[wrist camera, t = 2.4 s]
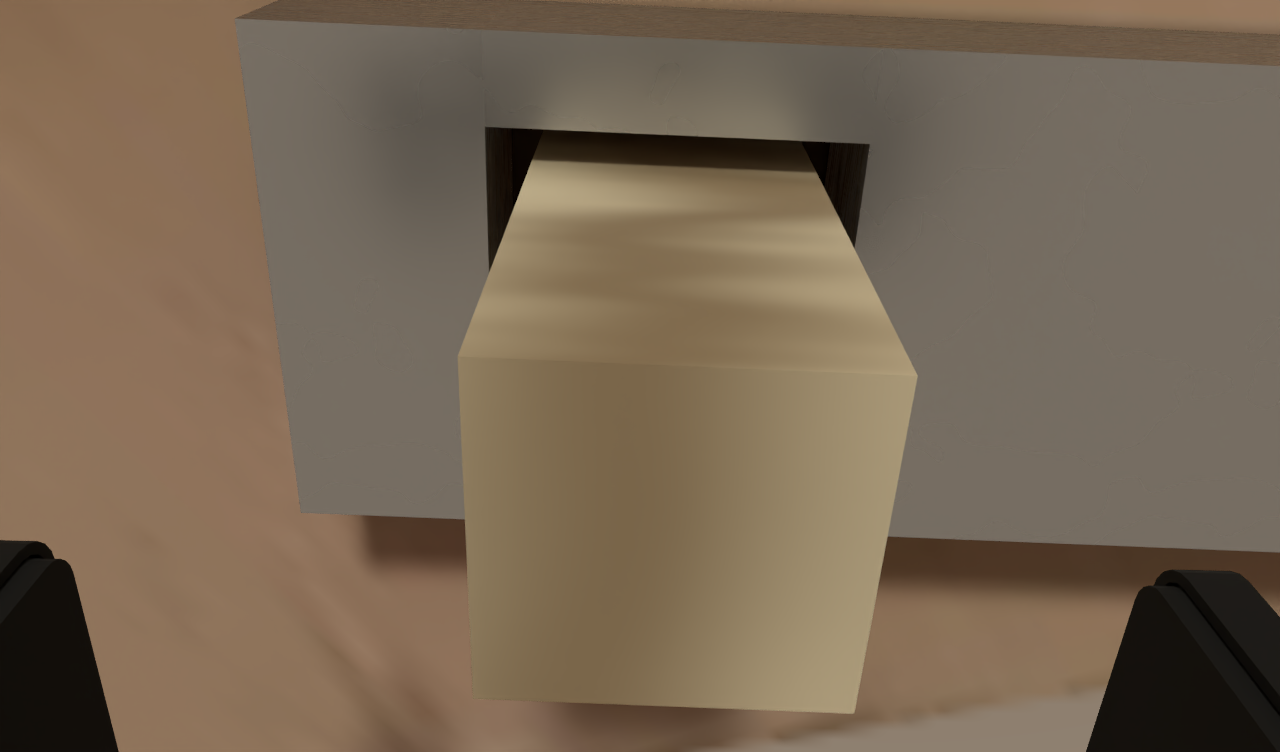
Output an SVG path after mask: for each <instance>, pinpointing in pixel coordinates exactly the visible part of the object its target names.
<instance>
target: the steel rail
mask: <svg viewBox="0 0 1280 752" xmlns="http://www.w3.org/2000/svg"><path fill="white" fill-rule="evenodd" d="M235 24H236V31H237V39H238V46H239V54H240V61H241V69H242V76H243V84H244V91H245V98H246V106H247V113H248V121H249V128H250V136H251V143H252V151H253V158H254V166H255V173H256V181H257V188H258V196H259V203H260V211H261V218H262V225H263V233H264V240H265V248H266V255H267V263H268V270H269V278H270V285H271V293H272V300H273V308H274V315H275V323H276V330H277V338H278V345H279V352H280V360H281V367H282V375H283V382H284V390H285V397H286V405H287V412H288V420H289V427H290V435H291V442H292V450H293V457H294V465H295V472H296V480H297V487H298V494H299V502H300V509H301V513H320V514H345V515H370V516H394V517H419V518H444V519H465V511H464V489H463V466H462V444H461V422H460V399H459V377H458V354H459V351H460V349H461V346H462V343H463V341H464V338H465V336H466V333H467V330H468V328H469V325H470V322H471V320H472V317H473V314H474V312H475V309H476V307H477V304H478V301H479V299H480V296H481V293H482V291H483V288H484V285H485V283H486V280H487V278H488V275H489V272H490V270H491V267H492V264H493V262H494V259H495V256H496V254H497V251H498V249H499V246H500V243H501V241H502V238H503V235H504V233H505V230H506V227H507V225H508V222H509V220H510V217H511V214H512V212H513V180H512V128H523V129H546V130H568V131H590V132H613V133H635V134H658V135H680V136H703V137H725V138H748V139H770V140H793V141H815V142H830V147H829V155H828V163H827V171H826V178H825V186H824V189H825V191H826V193H827V195H828V197H829V199H830V201H831V203H832V205H833V207H834V209H835V211H836V213H837V215H838V217H839V219H840V221H841V223H842V225H843V227H844V229H845V231H846V233H847V235H848V237H849V239H850V241H851V243H852V245H853V247H854V249H855V251H856V253H857V255H858V257H859V259H860V261H861V263H862V265H863V267H864V269H865V271H866V273H867V275H868V277H869V279H870V281H871V283H872V285H873V287H874V289H875V291H876V293H877V295H878V297H879V299H880V301H881V303H882V305H883V307H884V309H885V311H886V313H887V315H888V317H889V319H890V321H891V323H892V325H893V327H894V329H895V331H896V333H897V335H898V337H899V339H900V341H901V343H902V345H903V347H904V349H905V351H906V353H907V355H908V357H909V359H910V361H911V363H912V365H913V367H914V369H915V371H916V373H917V375H918V377H917V383H916V388H915V393H914V399H913V404H912V409H911V414H910V420H909V425H908V430H907V436H906V441H905V446H904V452H903V457H902V462H901V468H900V473H899V478H898V484H897V489H896V494H895V499H894V505H893V510H892V515H891V521H890V526H889V531H888V537H911V538H936V539H961V540H985V541H1010V542H1034V543H1059V544H1084V545H1108V546H1133V547H1157V548H1182V549H1207V550H1231V551H1256V552H1280V35H1275V34H1253V33H1231V32H1209V31H1187V30H1166V29H1144V28H1122V27H1100V26H1078V25H1056V24H1035V23H1013V22H991V21H969V20H947V19H926V18H904V17H882V16H860V15H838V14H816V13H795V12H773V11H751V10H729V9H707V8H685V7H664V6H642V5H620V4H598V3H576V2H554V1H533V0H278V1H275V2H273V3H271V4H268V5H266V6H263V7H261V8H259V9H256V10H254V11H252V12H249V13H247V14H245V15H242V16H240V17H237V18H235Z"/></svg>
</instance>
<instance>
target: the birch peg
mask: <svg viewBox="0 0 1280 752" xmlns="http://www.w3.org/2000/svg"><path fill="white" fill-rule="evenodd" d="M458 377H459V399H460V422H461V444H462V466H463V489H464V511H465V534H466V556H467V578H468V601H469V623H470V646H471V668H472V690H473V699H491V700H517V701H542V702H568V703H594V704H619V705H645V706H671V707H696V708H722V709H747V710H773V711H799V712H824V713H850V714H854V712H855V707H856V701H857V696H858V691H859V685H860V680H861V675H862V670H863V664H864V659H865V654H866V648H867V643H868V638H869V632H870V627H871V622H872V616H873V611H874V606H875V600H876V595H877V590H878V584H879V579H880V574H881V569H882V563H883V558H884V553H885V547H886V542H887V537H888V531H889V526H890V521H891V515H892V510H893V505H894V499H895V494H896V489H897V484H898V478H899V473H900V468H901V462H902V457H903V452H904V446H905V441H906V436H907V430H908V425H909V420H910V414H911V409H912V404H913V399H914V393H915V388H916V383H917V377H918V375H917V373H916V371H915V369H914V367H913V365H912V363H911V361H910V359H909V357H908V355H907V353H906V351H905V349H904V347H903V345H902V343H901V341H900V339H899V337H898V335H897V333H896V331H895V329H894V327H893V325H892V323H891V321H890V319H889V317H888V315H887V313H886V311H885V309H884V307H883V305H882V303H881V301H880V299H879V297H878V295H877V293H876V291H875V289H874V287H873V285H872V283H871V281H870V279H869V277H868V275H867V273H866V271H865V269H864V267H863V265H862V263H861V261H860V259H859V257H858V255H857V253H856V251H855V249H854V247H853V245H852V243H851V241H850V239H849V237H848V235H847V233H846V231H845V229H844V227H843V225H842V223H841V221H840V219H839V217H838V215H837V213H836V211H835V209H834V207H833V205H832V203H831V201H830V199H829V197H828V195H827V193H826V191H825V189H824V187H823V185H822V183H821V181H820V179H819V177H818V175H817V173H816V171H815V169H814V167H813V165H812V163H811V161H810V159H809V157H808V155H807V152H806V150H805V148H804V146H803V144H802V142H801V141H793V140H770V139H748V138H725V137H703V136H680V135H658V134H635V133H613V132H590V131H568V130H546V129H544V130H543V132H542V135H541V138H540V140H539V143H538V146H537V148H536V151H535V154H534V156H533V159H532V161H531V164H530V167H529V169H528V172H527V175H526V177H525V180H524V183H523V185H522V188H521V190H520V193H519V196H518V198H517V201H516V204H515V206H514V209H513V212H512V214H511V217H510V220H509V222H508V225H507V227H506V230H505V233H504V235H503V238H502V241H501V243H500V246H499V249H498V251H497V254H496V256H495V259H494V262H493V264H492V267H491V270H490V272H489V275H488V278H487V280H486V283H485V285H484V288H483V291H482V293H481V296H480V299H479V301H478V304H477V307H476V309H475V312H474V314H473V317H472V320H471V322H470V325H469V328H468V330H467V333H466V336H465V338H464V341H463V343H462V346H461V349H460V351H459V354H458Z"/></svg>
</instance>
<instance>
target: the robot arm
mask: <svg viewBox="0 0 1280 752" xmlns="http://www.w3.org/2000/svg"><path fill="white" fill-rule="evenodd" d="M0 752H119V751H118V747H117V743H116V739H115V736H114V732H113V728H112V724H111V720H110V716H109V712H108V708H107V704H106V700H105V696H104V692H103V688H102V684H101V680H100V676H99V672H98V668H97V664H96V660H95V657H94V653H93V649H92V645H91V641H90V637H89V633H88V629H87V625H86V621H85V617H84V613H83V609H82V605H81V601H80V597H79V593H78V589H77V585H76V581H75V578H74V574H73V571H72V569H71V566H70V565H69V564H68V563H67V561H65V560H62V559H54V556H53V554H52V551H51V550H50V549H49V548H48V547H47V545H46V544H44V543H41V542H38V541H5V540H0ZM1086 752H1280V617H1279V616H1278V615H1277V613H1276V612H1275V611H1274V610H1273V609H1272V608H1271V607H1270V605H1269V604H1268V603H1267V602H1266V601H1265V600H1264V598H1263V597H1262V596H1261V595H1260V594H1259V593H1258V592H1257V590H1256V589H1255V588H1254V587H1253V586H1252V585H1251V584H1250V582H1249V581H1248V580H1246V579H1245V578H1244V577H1243V576H1242V575H1240V574H1238V573H1235V572H1232V571H1203V570H1169V571H1165V572H1163V573H1162V574H1161V575H1160V576H1159V577H1158V578H1157V580H1156V582H1155V584H1154V586H1146V587H1143V588H1142V589H1141V590H1140V591H1139V592H1138V595H1137V597H1136V599H1135V602H1134V605H1133V608H1132V611H1131V614H1130V617H1129V620H1128V623H1127V626H1126V629H1125V633H1124V636H1123V639H1122V642H1121V645H1120V648H1119V651H1118V654H1117V657H1116V660H1115V663H1114V667H1113V670H1112V673H1111V676H1110V679H1109V682H1108V685H1107V688H1106V691H1105V694H1104V698H1103V701H1102V704H1101V707H1100V710H1099V713H1098V716H1097V719H1096V722H1095V725H1094V728H1093V732H1092V735H1091V738H1090V741H1089V744H1088V747H1087V750H1086Z"/></svg>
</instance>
